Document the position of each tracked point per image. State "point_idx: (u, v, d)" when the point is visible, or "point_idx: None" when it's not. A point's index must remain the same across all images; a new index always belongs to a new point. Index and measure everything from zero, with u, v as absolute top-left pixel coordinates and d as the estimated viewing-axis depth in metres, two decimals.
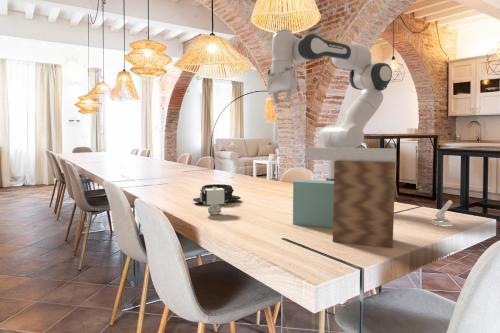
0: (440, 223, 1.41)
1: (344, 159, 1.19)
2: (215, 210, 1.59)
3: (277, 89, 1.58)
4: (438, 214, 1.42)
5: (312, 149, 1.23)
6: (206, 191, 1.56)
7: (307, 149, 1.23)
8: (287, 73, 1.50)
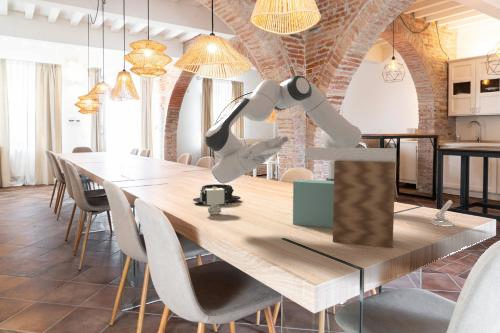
0: (440, 223, 1.41)
1: (344, 159, 1.19)
2: (215, 210, 1.59)
3: (274, 150, 1.31)
4: (438, 214, 1.42)
5: (312, 149, 1.23)
6: (206, 191, 1.56)
7: (307, 149, 1.23)
8: (252, 158, 1.25)
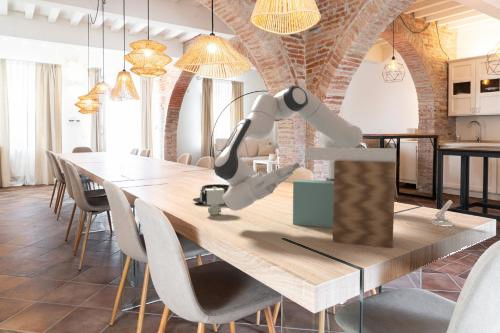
0: (440, 223, 1.41)
1: (344, 159, 1.19)
2: (215, 210, 1.59)
3: (285, 177, 1.30)
4: (438, 214, 1.42)
5: (312, 149, 1.23)
6: (206, 191, 1.56)
7: (307, 149, 1.23)
8: (265, 187, 1.24)
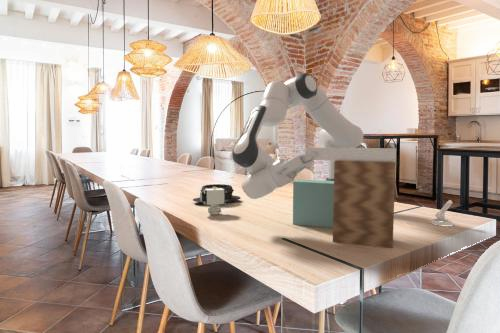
0: (440, 223, 1.41)
1: (344, 159, 1.19)
2: (215, 210, 1.59)
3: (307, 164, 1.27)
4: (438, 214, 1.42)
5: (312, 149, 1.23)
6: (206, 191, 1.56)
7: (307, 149, 1.23)
8: (287, 174, 1.21)
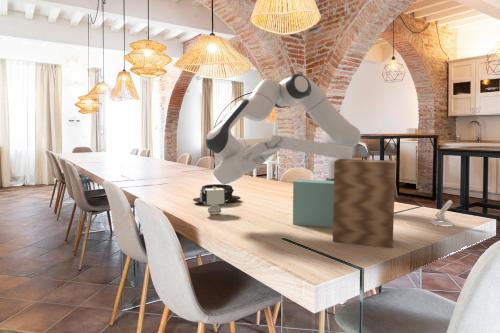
0: (440, 223, 1.41)
1: (304, 151, 1.27)
2: (215, 210, 1.59)
3: (273, 150, 1.35)
4: (438, 214, 1.42)
5: None
6: (206, 191, 1.56)
7: (273, 137, 1.32)
8: (252, 158, 1.29)
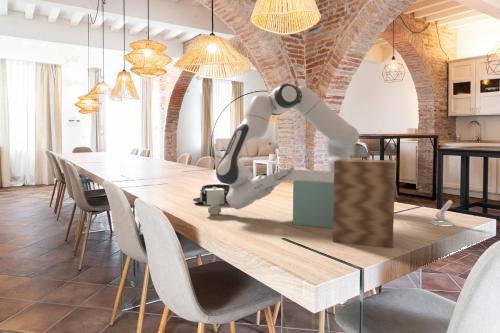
0: (440, 223, 1.41)
1: (311, 180, 1.40)
2: (215, 210, 1.59)
3: (281, 180, 1.48)
4: (438, 214, 1.42)
5: None
6: (206, 191, 1.56)
7: None
8: (263, 189, 1.42)
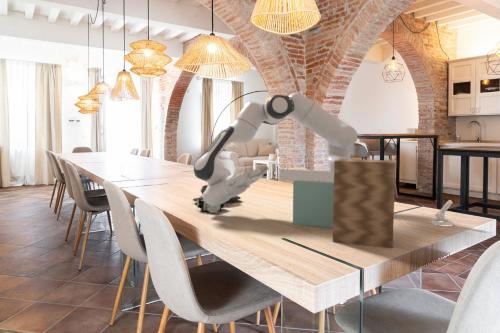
0: (440, 223, 1.41)
1: (311, 180, 1.40)
2: None
3: (255, 178, 1.52)
4: (438, 214, 1.42)
5: (285, 171, 1.44)
6: (201, 196, 1.70)
7: (281, 171, 1.45)
8: (237, 186, 1.46)
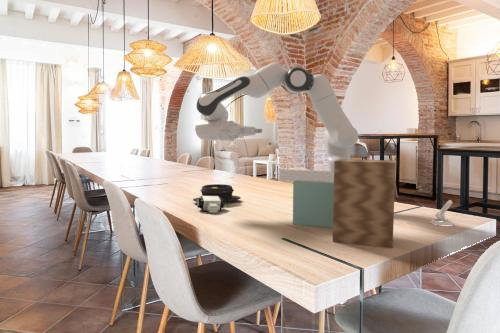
0: (440, 223, 1.41)
1: (311, 180, 1.40)
2: (213, 204, 1.63)
3: (247, 134, 1.64)
4: (438, 214, 1.42)
5: (285, 171, 1.44)
6: (201, 196, 1.70)
7: (281, 171, 1.45)
8: None
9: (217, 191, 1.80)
